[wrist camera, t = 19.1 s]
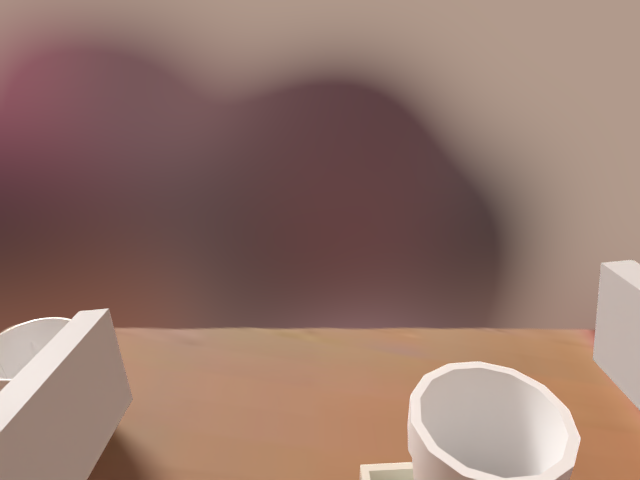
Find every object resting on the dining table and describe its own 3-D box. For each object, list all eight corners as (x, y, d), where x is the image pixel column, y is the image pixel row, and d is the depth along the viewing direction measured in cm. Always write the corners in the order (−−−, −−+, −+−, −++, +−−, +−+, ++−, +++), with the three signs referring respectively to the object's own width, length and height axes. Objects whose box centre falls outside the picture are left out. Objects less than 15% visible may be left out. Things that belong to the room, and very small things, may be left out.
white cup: (50, 487, 41) (14, 394, 36) (-7, 447, 44) (-46, 358, 40) (127, 420, 47) (105, 334, 42) (72, 390, 50) (46, 307, 46)
